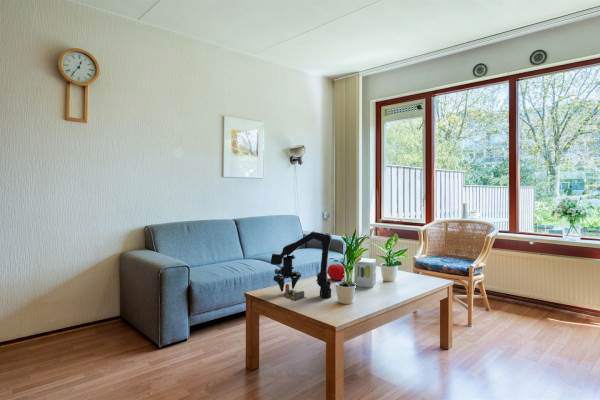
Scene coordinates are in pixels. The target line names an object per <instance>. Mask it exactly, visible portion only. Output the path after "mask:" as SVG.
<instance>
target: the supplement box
mask: <svg viewBox="0 0 600 400" xmlns="http://www.w3.org/2000/svg"><path fill="white" fill-rule="evenodd" d="M360 258H361V260H360V261H358V263H357V264H356V265H355V264H354V271H353V272H354V276H353V279H354V281H353V282H355V283H356V284H357V286H356V287H363V288H370V289H371V288H372V289H373V288H374V287H375V285H376V281H377V279H376V277H377V272H376V271H377V259H376V258H369V257H368V258H367V257H360Z"/></svg>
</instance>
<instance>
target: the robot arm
mask: <svg viewBox="0 0 600 400" xmlns="http://www.w3.org/2000/svg"><path fill="white" fill-rule="evenodd" d="M312 240H316V241H319V242H321V248H322V249H321V261H320V271H319V272H317V274H316V283H317V285H318V287H320V288H319V297H320V298H321V299H325V300H326V299H327V300H328V299H331V298H332V288H331V285H332V283H331V282H330V281H329V279H328V273H327V270H328V260H329V249H330V247H331V242H332V235H331V234H330V233H322V232H316V231H313V230H312V231H311V232H310V233H307V235H305V236H303V237H302V238H299V239H298V240H297V241H295V242H292V243H288V244H286V245H284V247H283V248H282V252H281V253H272V254H271V258H270V264H271V265H273V266H281V265H282V266H281V268H275V269H274V274H275V275H274V276H273V281H274V282H276V283H277V284H278V288H279V289H280V292H282V293H283V291H284V288H285V279H289V278H290V280H291V290H294V288H295V287H296V285H297V282H299V280H300V278H302V273H301V272H299V271H293V270H294V268H295V267H294V266H293V260H295V259H296V256H295V254H293V253H294V251H296V250H297V249H298V248H300V247H301V246H303V245H305V244H306V243H308V242H310V241H312ZM291 254H292V255H291Z"/></svg>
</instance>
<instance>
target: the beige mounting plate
mask: <svg viewBox="0 0 600 400" xmlns="http://www.w3.org/2000/svg"><path fill="white" fill-rule="evenodd" d="M278 296H280V297H282V298H286V299H288V300H291V301H294V302H296V301H300V300H303V299H306V298H307V296H305V291H303V290H299V291H298V292H296V293H295V297H293V296H292V295H286V294H285V293H283V294H279V295H278Z"/></svg>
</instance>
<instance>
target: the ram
mask: <svg viewBox="0 0 600 400" xmlns="http://www.w3.org/2000/svg"><path fill="white" fill-rule="evenodd" d="M284 288H285V290H284V294H286V295H292V291H295V290H294V289H290V284H289V283H284Z"/></svg>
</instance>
